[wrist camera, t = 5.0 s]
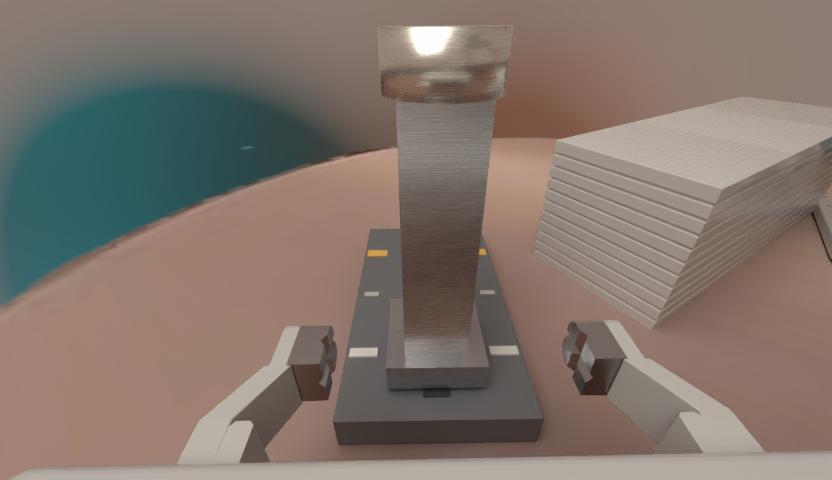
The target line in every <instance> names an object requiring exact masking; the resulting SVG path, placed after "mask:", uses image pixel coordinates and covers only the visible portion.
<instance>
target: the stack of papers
mask: <svg viewBox="0 0 832 480" xmlns="http://www.w3.org/2000/svg"><path fill="white" fill-rule="evenodd" d="M555 152H557V154H554V156H553V161H552V164H554V166H552V167H551V170H550V176H552V178H549V180H548V185H547V187H549V189H547V190H546V194H545V198H547V200H544V204H543V209H545V210H543V211H542V213H541V219H543V220H541V221H540V223H539V229H541V230H539V231H538V232H537V237H536V238H538V240H536V242H535V248H536V249H534V251H533V256H534V257H536V258H538V259H539V260H541V261H542V262H544V263H546V264H547V265H549V266H550V267H552V268H554V269H555V270H557V271H558V272H560V273H562V274H563V275H565V276H566V277H568V278H569V279H571V280H573V281H574V282H576V283H577V284H579V285H581V286H582V287H584V288H585V289H587V290H589V291H590V292H592V293H593V294H595V295H597V296H598V297H600V298H601V299H603V300H605V301H606V302H608V303H609V304H611V305H613V306H614V307H616V308H617V309H619V310H621V311H622V312H624V313H625V314H627V315H628V316H630V317H632V318H633V319H635V320H636V321H638V322H640V323H641V324H643V325H644V326H646V327H648V328H649V329H651V330H653V329H654V328H655V327H657V326H658V325H659V324H661V323H662V322H664V321H665V320H666V319H668V318H669V317H670V316H672V315H673V314H675V313H676V312H677V311H679V310H680V309H681V308H683V307H684V306H685V305H687V304H688V303H690V302H691V301H692V300H694V299H695V298H696V297H698V296H699V295H701V294H702V293H703V292H705V291H706V290H707V289H709V288H710V287H711V286H713V285H714V284H716V283H717V282H718V281H720V280H721V279H722V278H724V277H725V276H727V275H728V274H729V273H731V272H732V271H733V270H735V269H736V268H738V267H739V266H740V265H742V264H743V263H744V262H746V261H747V260H748V259H750V258H751V257H753V256H754V255H755V254H757V253H758V252H759V251H761V250H762V249H764V248H765V247H766V246H768V245H769V244H770V243H772V242H773V241H774V240H776V239H777V238H779V237H780V236H781V235H783V234H784V233H785V232H787V231H788V230H790V229H791V228H792V227H794V226H795V225H796V224H798V223H799V222H801V221H802V220H803V219H805V218H806V217H807V216H809V215H810V214H811V213H812V212H813V211H814V209H815V208H814V207H816V206H817V205H818V203H819V202H820V199H821V198H822V197H823V196H824V194H825V193H826V190H828V188H829V187H830V186H831V184H832V183H831V182H832V108H830V107H822V106H813V105H805V104H799V103H790V102H782V101H774V100H766V99H759V98H751V97H738V98H734V99H730V100H726V101H721V102H717V103H713V104H709V105H704V106H700V107H696V108H692V109H688V110H684V111H679V112H675V113H670V114H666V115H662V116H658V117H654V118H649V119H645V120H641V121H636V122H632V123H628V124H624V125H619V126H615V127H611V128H607V129H602V130H598V131H594V132H590V133H585V134H581V135H577V136H573V137H568V138H564V139H560V140H557V142H556V147H555Z"/></svg>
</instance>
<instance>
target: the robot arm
mask: <svg viewBox="0 0 832 480" xmlns="http://www.w3.org/2000/svg"><path fill="white" fill-rule="evenodd" d="M814 208H815V209H814V211H813V213H814V216H815V219H816V221H817V224H818V227H819V229H820V232H821V235H822V237H823V240H824V243H825V245H826V248H827V251H828V254H829V256H830V258H831V259H832V197H822V198H821V199H820V202H819V203H818V205H817V206H816V207H814ZM567 330H568V332H569V335H568V336H567V337H565V338H564V341H563V345H562V346H563V356H564V360H565V362H566V364H567V366H568V367H569V368H570V369H572V370H573V371H574V374H573V380H574V382H575V384H576V386H577V388H578V390H579V393H580V395H607V396H606V397H607V398H608V399H609V400H611V401H612V402H613V403H614V404H615V405H616V406H617V407H618V408H619V409H620V410H621V411H622V412H623V413H625V414H626V415H627V416H628V417H629V418H630V419H631V420H632V421H633V422H634V423H635V424H636V425H638V426H639V427H640V428H641V429H642V430H643V431H644V432H645V433H646V434H647V435H648V436H649V437H650V438H652V439H653V440H654V441H655V442H656V443H657V444H658V446H657V447H656V449H655V450H654V452H653V453H652V454H637V455H590V456H544V457H497V458H452V459H406V460H359V461H311V462H270V460H269V458H268V455H267V453H266V451H265V447H266V446H267V445H268V444H269V443H270V441H271V440H272V439H273V438H274V437H275V435H276V434H277V433H278V432H279V431H280V429H281V428H282V427H283V426H284V425H285V423H286V422H287V421H288V420H289V419H290V417H291V416H292V415H293V414H294V413H295V411H296V410H297V409H298V408H299V407H300V405H301V404H302V401H322V400H328V399H329V395H330V390H331V386H332V379H331V374H332V373H333V372H334V371H335V367H336V360H337V347H336V343H335V342H334V341H333V340H332V339H333V335H334V332H333V328H332V326H287V327H286V328H285V329H284V331H283V333H282V336H281V338H280V341H279V343H278V345H277V348H276V350H275V353H274V355H273V358H272V360H271V362H270V365H269V366H264V367H263V368H262V369H260V370H259V371H258V372H257V373H256V374H254V375H253V376H252V377H251V378H250V379H248V380H247V381H246V382H245V383H244V384H242V385H241V386H240V387H239V388H238V389H236V390H235V391H234V392H233V393H232V394H230V395H229V396H228V397H227V398H226V399H224V400H223V401H222V402H221V403H220V404H218V405H217V406H216V407H215V408H214V409H212V410H211V411H210V412H209V413H208V414H206V415H205V416H204V417H203V418H202V419H200V420H199V422H198V424H197V426H196V428H195V430H194V432H193V434H192V435H191V437H190V439H189V441H188V443H187V445H186V447H185V449H184V451H183V452H182V454H181V456H180V458H179V460H178V462H177V464H166V465H118V466H60V467H38V468H32V469H29V470H26V471H23V472H21V473H19V474H17V475H16V476H14V477H12V478H10V479H8V480H832V450H823V451H777V452H765V451H764V450H763V449H762V447H761V446H760V445H759V444H758V443H757V441H756V440H755V439H754V438H753V437H752V435H751V434H750V433H749V432H748V430H747V429H746V428H745V427H744V426H743V424H742V423H741V422H740V421H739V419H738V418H737V417H736V416H735V415H734V413H733V412H732V411H731V410H730V409H728V408H727V407H725V406H724V405H722V404H720V403H719V402H717V401H716V400H714V399H713V398H711V397H709V396H708V395H706V394H705V393H703V392H702V391H700V390H698V389H697V388H695V387H694V386H692V385H691V384H689V383H687V382H686V381H684V380H683V379H681V378H680V377H678V376H676V375H675V374H673V373H672V372H670V371H669V370H667V369H665V368H664V367H662V366H661V365H659V364H657V363H656V362H654V361H653V360H651V359H645V358H644V356H643V355H642V353H641V352H640V350H639V349H638V348H637V346H636V345H635V343H634V342H633V341H632V339H631V338H630V336H629V335H628V333H627V332H626V331H625V329H624V328H623V326H622V325H621V323H620V322H618V321H617V320H601V321H599V320H597V321H571V322H570V323H569V325H568V328H567Z"/></svg>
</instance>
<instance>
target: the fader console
mask: <svg viewBox="0 0 832 480" xmlns="http://www.w3.org/2000/svg"><path fill="white" fill-rule="evenodd" d="M391 298H403V288H402V259H401V230H400V229H370V234H369V239H368V244H367V249H366V255H365V260H364V265H363V270H362V275H361V280H360V286H359V291H358V296H357V301H356V306H355V311H354V317H353V322H352V327H351V332H350V337H349V342H348V348H347V353H346V358H345V363H344V368H343V373H342V379H341V384H340V389H339V394H338V399H337V404H336V410H335V415H334V420H333V424H334V428H335V432H336V437H337V441H338V445H340V444H400V443H459V442H519V441H536V440H537V437H538V434H539V431H540V428H541V425H542V422H543V416H542V413H541V410H540V407H539V404H538V401H537V398H536V395H535V392H534V389H533V386H532V383H531V380H530V377H529V374H528V371H527V368H526V365H525V362H524V359H523V356H522V353H521V350H520V347H519V344H518V341H517V338H516V335H515V332H514V329H513V326H512V323H511V320H510V317H509V314H508V311H507V308H506V305H505V302H504V299H503V296H502V293H501V290H500V287H499V284H498V281H497V278H496V275H495V272H494V269H493V266H492V263H491V260H490V257H489V254H488V251H487V248H486V245H485V242H484V239H483V236H482V233H481V240H480V249H479V258H478V267H477V277H476V286H475V295H474V302H475V306H476V310H477V315H478V319H479V324H480V328H481V332H482V337H483V341H484V345H485V350H486V354H487V359H488V363H489V372H488V378H487V384H486V387H480V388H416V389H387V377H386V359H387V345H388V331H389V317H390V303H391Z"/></svg>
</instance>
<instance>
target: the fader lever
mask: <svg viewBox="0 0 832 480" xmlns="http://www.w3.org/2000/svg"><path fill="white" fill-rule="evenodd" d="M512 32H513V26H503V25H499V26H498V25H455V26H454V25H453V26H452V25H446V26H444V25H441V26H379V27H377V34H378V52H379V69H380V88H381V95H383V96H384V97H387V98H390V99H394V100H396V114H397V143H398V172H399V201H400V230H401V259H402V288H403V298H391V303H390V317H389V331H388V345H387V359H386V377H387V389H416V388H480V387H486V384H487V378H488V372H489V363H488V359H487V354H486V350H485V345H484V341H483V337H482V332H481V328H480V324H479V319H478V315H477V310H476V306H475V302H474V295H475V286H476V277H477V267H478V258H479V249H480V240H481V231H482V222H483V213H484V204H485V195H486V186H487V177H488V168H489V159H490V150H491V141H492V131H493V122H494V113H495V104H496V99H498V98H500V97H502V96H504V95H505V89H506V81H507V73H508V65H509V56H510V48H511V40H512Z"/></svg>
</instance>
